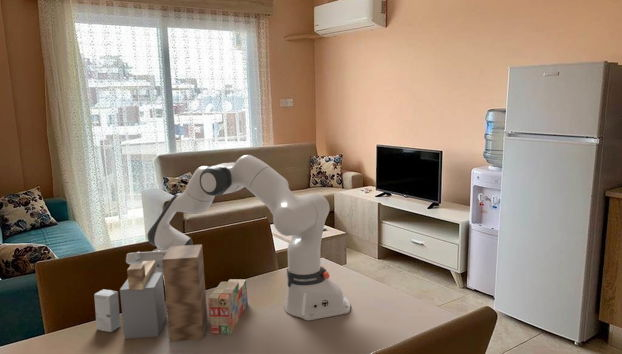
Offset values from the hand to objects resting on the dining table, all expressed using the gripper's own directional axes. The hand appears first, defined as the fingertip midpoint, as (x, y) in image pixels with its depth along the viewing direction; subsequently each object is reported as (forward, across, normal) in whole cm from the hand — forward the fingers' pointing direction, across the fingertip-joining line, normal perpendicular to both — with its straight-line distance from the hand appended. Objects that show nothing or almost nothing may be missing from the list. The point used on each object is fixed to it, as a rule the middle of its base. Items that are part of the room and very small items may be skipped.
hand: (151, 253), depth 155 cm
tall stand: (+7, +14, +27) cm, 31 cm away
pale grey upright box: (+4, 0, +25) cm, 25 cm away
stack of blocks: (+2, +27, +24) cm, 36 cm away
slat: (+10, 0, +10) cm, 14 cm away
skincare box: (+2, -12, +24) cm, 27 cm away
